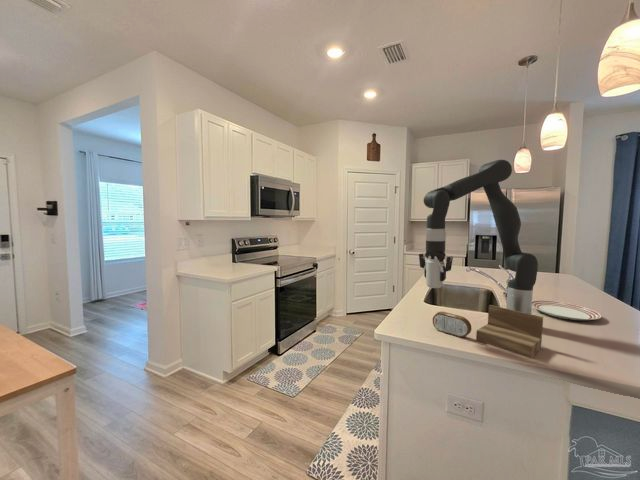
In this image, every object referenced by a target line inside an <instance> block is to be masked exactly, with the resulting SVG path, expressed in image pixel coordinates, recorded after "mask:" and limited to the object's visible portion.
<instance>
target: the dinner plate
mask: <svg viewBox="0 0 640 480" xmlns="http://www.w3.org/2000/svg"><path fill="white" fill-rule="evenodd" d="M532 308H534V309H536V310H538V311H539V312H541V313H543V314H545V315H548V316H550V317H554V318H557V317H558V318H557V319H562V318H563V320H568V319H570V320H569V321H591V320H600V319H601V318H602V316H603V315H602V314H600V313H599V312H598V311H596V310H593V309H591V308H588V307H584V306H581V305H577V304H572V303H568V302H563V301H556V300H550V299H549V300H548V299H536V300H535V299H534V300H532Z"/></svg>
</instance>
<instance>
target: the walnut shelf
mask: <svg viewBox="0 0 640 480" xmlns="http://www.w3.org/2000/svg"><path fill="white" fill-rule="evenodd" d="M543 325H544V316H540V315H536V314H532V313H531V314H528V313H523V312H519V311H515V310H510V309H506V307H501V306H496V305H492V304H488V313H487V324H485V325H484V326H482V327H480V328H479V329H476V335H475V336H476V338H475V341H477V342H480V343H484V344H487V345H490V346H493V347H496V348H499V349H502V350H505V351H507V352H511V353H514V354H517V355H519V356H523V357H527V358H528V359H529V358H530V359H532V358H533V357H534V356H535V355H536V354H537V353H538V352H539V351H540V350H541V349H542V336H543Z"/></svg>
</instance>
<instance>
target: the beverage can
mask: <svg viewBox="0 0 640 480" xmlns="http://www.w3.org/2000/svg"><path fill="white" fill-rule="evenodd" d="M427 259H428V258H426V260H425V263H426V278H425V285H426V286H427V287H428V288H431V289H440V288H441V287H443V286H444V285H443V282H444V281H440V272H441V270H440V267H439V262H438V260H435V259H428V260H427ZM440 263H441V264H443V262H440Z"/></svg>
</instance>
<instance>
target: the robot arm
mask: <svg viewBox="0 0 640 480" xmlns="http://www.w3.org/2000/svg"><path fill="white" fill-rule="evenodd" d="M512 172H513V168H512V164H511V163H510V162H509V161H508V160H506V159H497V160H494V161H490V162H487V163H484V164H481V166H480V167H479V169H478V172H476V173H474V174H471V175H468V176H465V177H463V178H460V179H457V180H455V181H453V182H451V183H449V184H447V185H445V186H442V187H438V188H435V189H433V190H430V191H428V192H427V193H426V194H425V195H424V196H423V204H424V205H425V207H427V208H428V209H432V212H431V214H428V215H427V218H426V232H425V253H419V254H418V260H419V267H420V268H422V269H423V270H424V274H423V276H424V277H425V279H426V261H427V260H428V259H435V260H438V262H439V267H440V270H441V272H440V281H443V282H444V281H446V279H447V273H448V272H450V271H452V265H453V258H454V257H453V256H452V255H451V256H449V255H447V254H446V217H447V214H448V211H449V207H450V204H451V203H450V202H451V201H455V200H458V199H460V198H462V197H465V196H467V195H468V194H471V193H472V192H473V193H474V192H475V191H477V190H479V189H481V188H483V190H484V192H485V195H486V198H487V200H488V203H489V206H490V209H491V213H492V216H493V220H494V223H495V226H496V229H497V232H498V235H499V239H500V242H501V247H502V252H503V254H502V255H503V259H504V263H505V266H506V268H507V269H508V270H510V271H512V272H515V276H514V278H513V279H510V280H508V282H507V292H506V294H507V295H506V307H505V308H506V309H510V310H515V311H519V312H523V313H528V314H532V310H533V307H532V301H533V293H534V286H535V285H536V281H537V276H538V269H539V263H538V259H537V257H536V256H535V255H534V254H532V253H528V252H523V251H522V249H521V247H520V243H519V234H520V231H521V227H522V222H521V221H522V220H521V217H520V214H519V211H518V208H517V206H516V205H515V204H514V203H513V202H512V201H511V199H509V197H507V196H506V195H505V194H504V193H503V191H502V189H501V186H500V182H504V181H506V180H508V179H509V178H510V177H511V175H512ZM427 258H428V259H427ZM444 260H445V261H444ZM440 262H443V264H441V263H440Z"/></svg>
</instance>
